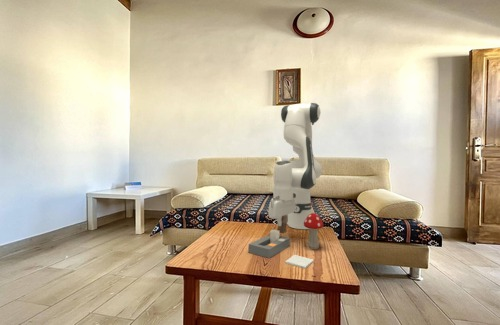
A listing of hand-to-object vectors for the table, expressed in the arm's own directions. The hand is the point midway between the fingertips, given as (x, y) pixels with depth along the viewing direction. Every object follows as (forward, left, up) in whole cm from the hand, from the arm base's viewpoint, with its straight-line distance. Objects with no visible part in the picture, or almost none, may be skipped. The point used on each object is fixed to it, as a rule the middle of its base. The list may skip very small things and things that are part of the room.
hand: (282, 224), depth 112 cm
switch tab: (+7, 0, -7) cm, 10 cm away
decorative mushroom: (-3, +14, -9) cm, 17 cm away
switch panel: (+11, 0, -8) cm, 14 cm away
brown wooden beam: (0, 0, -4) cm, 4 cm away
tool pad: (+16, +16, -8) cm, 24 cm away
